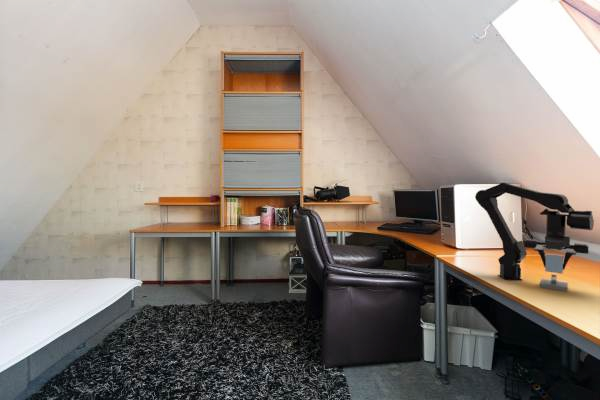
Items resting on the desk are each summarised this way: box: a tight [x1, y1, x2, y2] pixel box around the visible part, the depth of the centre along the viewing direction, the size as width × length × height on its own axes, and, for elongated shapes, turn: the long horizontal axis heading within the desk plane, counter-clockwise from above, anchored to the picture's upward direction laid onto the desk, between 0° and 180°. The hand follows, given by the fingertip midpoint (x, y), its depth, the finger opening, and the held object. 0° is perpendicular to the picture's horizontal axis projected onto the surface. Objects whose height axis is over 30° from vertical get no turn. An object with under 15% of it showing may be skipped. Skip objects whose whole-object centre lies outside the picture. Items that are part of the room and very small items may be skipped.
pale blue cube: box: [544, 253, 564, 274], centre depth 121 cm, size 5×5×6 cm
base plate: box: [539, 274, 569, 292], centre depth 121 cm, size 8×8×4 cm
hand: (554, 268), depth 121 cm, fingers closed on pale blue cube, 5 cm apart
